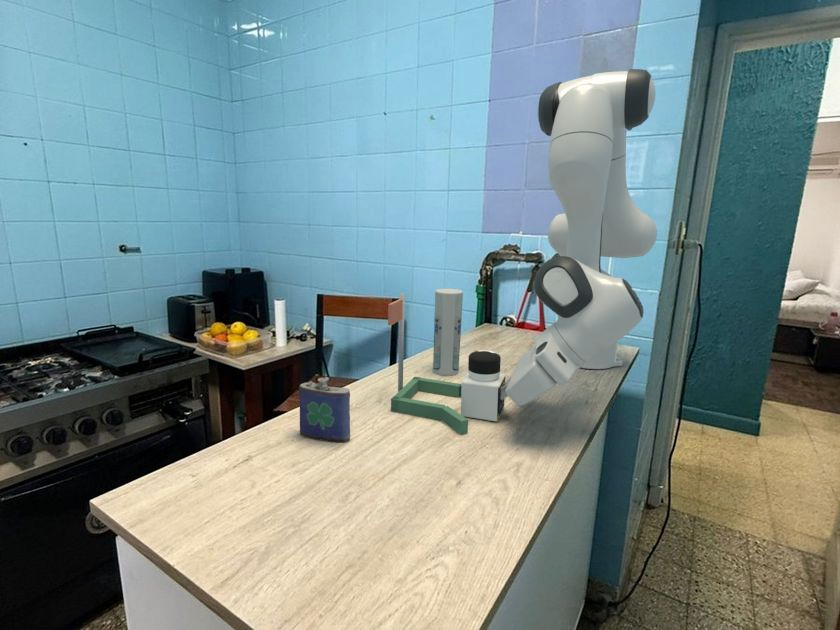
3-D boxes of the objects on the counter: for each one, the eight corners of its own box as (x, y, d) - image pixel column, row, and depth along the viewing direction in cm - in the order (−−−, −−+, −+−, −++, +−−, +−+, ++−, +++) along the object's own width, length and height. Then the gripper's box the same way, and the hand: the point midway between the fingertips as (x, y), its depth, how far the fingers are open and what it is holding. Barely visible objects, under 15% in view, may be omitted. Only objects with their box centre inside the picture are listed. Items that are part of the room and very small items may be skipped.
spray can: (432, 366, 112) (435, 288, 107) (458, 367, 111) (462, 288, 107) (432, 375, 105) (435, 292, 101) (459, 376, 105) (463, 293, 100)
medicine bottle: (497, 422, 82) (500, 360, 79) (460, 416, 84) (461, 356, 82) (504, 407, 89) (506, 349, 86) (469, 402, 91) (470, 346, 88)
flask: (352, 436, 76) (352, 378, 73) (345, 445, 73) (344, 384, 71) (304, 428, 78) (302, 371, 76) (295, 436, 76) (293, 377, 73)
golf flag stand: (415, 380, 102) (417, 286, 97) (489, 392, 96) (495, 292, 91) (376, 418, 83) (377, 303, 78) (466, 435, 77) (472, 312, 72)
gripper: (549, 325, 89) (498, 364, 94) (541, 354, 70) (477, 401, 75) (571, 349, 88) (517, 387, 94) (568, 384, 70) (502, 430, 75)
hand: (499, 394), depth 84 cm, fingers closed, pressing on medicine bottle
